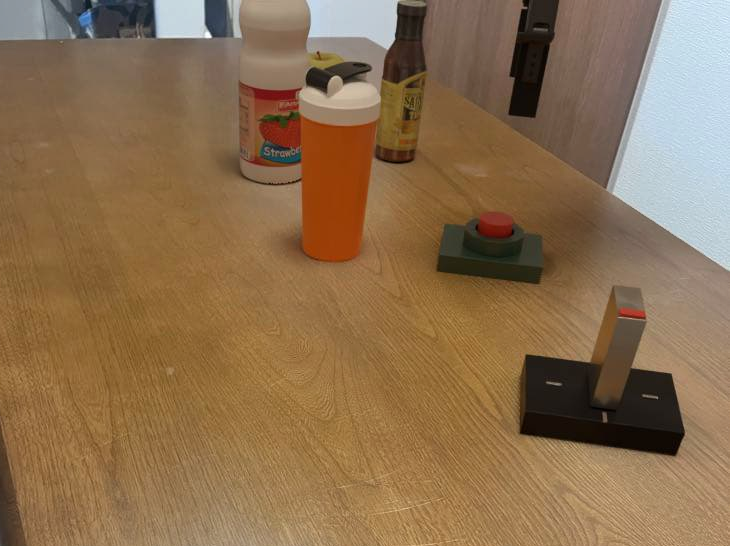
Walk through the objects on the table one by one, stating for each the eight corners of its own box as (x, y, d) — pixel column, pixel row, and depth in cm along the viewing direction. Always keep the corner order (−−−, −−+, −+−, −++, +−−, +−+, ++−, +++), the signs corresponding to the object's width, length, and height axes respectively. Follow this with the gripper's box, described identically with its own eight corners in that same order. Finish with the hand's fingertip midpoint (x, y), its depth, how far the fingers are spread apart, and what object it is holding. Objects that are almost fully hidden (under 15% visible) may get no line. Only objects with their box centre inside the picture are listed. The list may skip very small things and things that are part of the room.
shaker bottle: (383, 250, 106) (401, 70, 92) (334, 273, 101) (346, 85, 87) (328, 227, 110) (337, 51, 96) (279, 248, 105) (281, 65, 91)
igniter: (538, 251, 108) (545, 220, 105) (538, 284, 101) (546, 252, 99) (442, 240, 109) (446, 208, 106) (436, 272, 102) (441, 239, 100)
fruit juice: (273, 155, 127) (276, -77, 108) (320, 174, 123) (331, -64, 104) (225, 170, 122) (219, -71, 103) (272, 191, 118) (275, -57, 98)
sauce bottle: (403, 167, 126) (420, 11, 113) (366, 157, 129) (379, 2, 115) (423, 154, 131) (442, 2, 117) (387, 145, 133) (402, -5, 119)
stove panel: (663, 394, 85) (672, 371, 84) (676, 456, 78) (686, 432, 76) (520, 375, 87) (526, 351, 85) (519, 434, 79) (525, 410, 77)
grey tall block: (586, 372, 83) (613, 281, 77) (612, 375, 83) (641, 285, 76) (590, 407, 79) (618, 314, 72) (616, 410, 78) (648, 318, 72)
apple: (292, 93, 149) (294, 41, 144) (349, 97, 149) (352, 45, 144) (288, 112, 142) (289, 57, 136) (348, 116, 142) (351, 62, 136)
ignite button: (511, 227, 104) (514, 213, 103) (510, 241, 101) (513, 227, 100) (478, 223, 104) (480, 209, 103) (476, 237, 101) (479, 223, 100)
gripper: (527, -175, 87) (489, 60, 101) (529, -153, 69) (482, 129, 83) (603, -169, 86) (553, 66, 101) (625, -145, 68) (561, 138, 83)
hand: (521, 95), depth 92 cm, fingers open, 13 cm apart
